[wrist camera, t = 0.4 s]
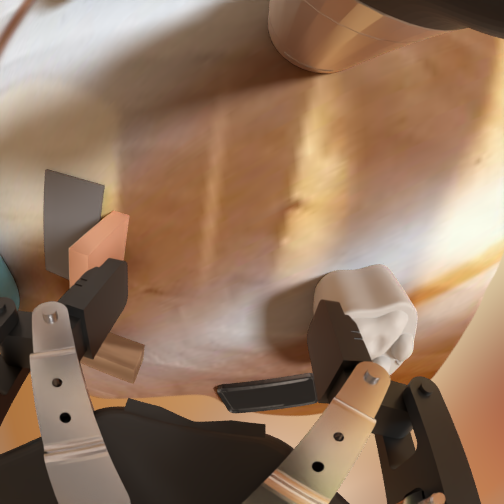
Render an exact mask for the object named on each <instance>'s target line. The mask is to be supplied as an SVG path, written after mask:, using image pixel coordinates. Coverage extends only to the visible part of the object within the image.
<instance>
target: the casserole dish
mask: <svg viewBox="0 0 504 504" xmlns="http://www.w3.org/2000/svg"><path fill="white" fill-rule="evenodd" d="M0 297H8V298H10V299H12V300H13V301H14V302H15V305H16V309H17V311H18V309H19V304H20V297H19V292H18V288H17V285H16V283H15V281H14V278H13V276H12V275H11V273H10V271H9V269H8V267H7V266H6V264H5V262H4V260H3V259H2V257H1V255H0Z"/></svg>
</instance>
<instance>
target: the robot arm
mask: <svg viewBox="0 0 504 504" xmlns="http://www.w3.org/2000/svg"><path fill="white" fill-rule="evenodd" d="M464 28H471V29H474V30H476V31H479V32H482V33H485V34H488V35H491V36H495V37H498V38H502V39H504V0H270V3H269V14H268V31H269V35H270V38H271V41H272V43H273V44H274V46H275V47H276V49H277V51H278V52H279V53H280V54H281V55H282V56H283V57H284V58H285V59H287V60H288V61H290V62H291V63H292V64H294V65H296V66H298V67H300V68H302V69H305V70H308V71H312V72H317V73H335V72H339V71H342V70H346V69H348V68H350V67H352V66H355V65H357V64H360V63H362V62H365V61H367V60H370V59H372V58H375V57H377V56H380V55H382V54H385V53H387V52H390V51H393V50H396V49H398V48H401V47H404V46H407V45H410V44H413V43H416V42H419V41H422V40H425V39H428V38H431V37H434V36H437V35H441V34H444V33H448V32H452V31H456V30H459V29H464ZM127 298H128V273H127V262H126V261H122V260H118V259H114V258H108V259H107V260H106V261H105V262H104V263H103V264H102V265H101V266H100V267H94V268H92V269H90V270H88V271H86V272H85V273H84V274H83V275H82V276H81V277H80V279H78V280H77V281H76V282H75V284H74V285H73V286H72V287H71V288H70V289H69V290H68V291H67V292H66V293H65V294H64V295H63V296H62V297H61V298H60V300H59V301H58V302H46V303H43V304H40V305H39V306H37V307H36V308H35V309H34V311H33V312H24V311H17V309H16V305H15V302H14V301H13V300H12V299H10V298H8V297H0V353H1V354H0V426H1V424H2V421H3V419H4V417H5V416H6V414H7V412H8V410H9V408H10V406H11V403H12V402H13V400H14V398H15V397H16V395H17V393H18V391H19V389H20V388H21V386H22V384H23V382H24V381H25V379H26V377H27V375H28V374H29V372H30V370H31V378H32V386H33V394H34V400H35V407H36V412H37V418H38V423H39V428H40V432H41V437H39V438H37V439H35V440H32V441H30V442H28V443H26V444H24V445H21V446H19V447H17V448H15V449H12V450H10V451H7V452H5V453H3V454H0V504H349V503H348V502H347V501H346V500H345V499H344V498H343V497H342V496H341V495H340V494H339V493H338V492H337V491H338V489H339V488H340V486H341V484H342V483H343V481H344V480H345V478H346V476H347V475H348V473H349V471H350V470H351V468H352V467H353V465H354V463H355V461H356V460H357V458H358V456H359V454H360V452H361V451H362V449H363V447H364V445H365V443H366V441H367V440H368V438H369V436H370V434H371V433H373V434H375V439H376V443H377V448H378V453H379V458H380V464H381V469H382V474H383V480H384V486H385V491H386V498H387V504H481V502H480V499H479V495H478V492H477V488H476V485H475V482H474V479H473V475H472V472H471V469H470V467H469V463H468V460H467V458H466V455H465V452H464V449H463V446H462V444H461V441H460V438H459V436H458V434H457V431H456V429H455V426H454V423H453V421H452V418H451V416H450V414H449V411H448V409H447V407H446V404H445V402H444V400H443V398H442V395H441V393H440V391H439V389H438V387H437V386H436V385H435V383H433V382H432V381H431V380H429V379H427V378H425V377H415V378H413V379H412V380H411V381H410V383H409V384H408V385H405V384H401V383H398V382H394V381H391V380H390V376H389V374H388V372H387V371H386V370H385V369H384V368H383V367H382V366H380V365H378V364H376V363H373V362H372V360H371V357H370V355H369V352H368V350H367V348H366V345H365V343H364V340H363V338H362V336H361V333H360V331H359V328H358V326H357V324H356V322H355V321H354V320H353V319H352V318H351V317H350V316H349V315H345V314H344V312H343V309H342V307H341V304H340V303H339V302H337V301H331V300H324V299H321V300H320V302H319V304H318V306H317V309H316V311H315V314H314V317H313V319H312V322H311V324H310V327H309V330H308V334H307V344H308V350H309V355H310V360H311V365H312V371H313V376H314V381H315V387H316V392H317V398H318V403H329V405H328V407H327V408H326V410H325V411H324V412H323V414H322V415H321V416H320V418H319V419H318V420H317V421H316V423H315V424H314V425H313V427H312V428H311V429H310V430H309V432H308V433H307V434H306V435H305V437H304V438H303V439H302V440H301V441H300V443H299V444H298V445H297V446H296V447H295V449H293V448H292V447H291V446H289V445H288V444H286V443H285V442H283V441H281V440H280V439H278V438H275V437H273V436H271V435H268V434H265V424H256V423H248V422H240V421H232V420H230V421H212V422H194V421H191V420H188V419H186V418H184V417H182V416H179V415H177V414H175V413H173V412H171V411H169V410H166V409H164V408H162V407H159V406H156V405H151V404H148V403H144V402H140V401H137V400H133V399H130V398H128V400H127V403H126V406H125V407H108V408H102V409H98V410H96V411H94V408H93V405H92V402H91V399H90V396H89V393H88V389H87V386H86V383H85V379H84V376H83V372H82V368H81V365H80V361H81V359H82V357H83V356H84V357H86V358H89V359H92V360H93V359H94V357H95V355H96V354H97V352H98V350H99V349H100V347H101V345H102V343H103V342H104V340H105V338H106V337H107V335H108V333H109V332H110V330H111V328H112V327H113V325H114V324H115V322H116V320H117V319H118V317H119V316H120V314H121V312H122V311H123V309H124V307H125V305H126V302H127ZM412 429H413V430H414V433H415V436H416V439H417V449H416V450H415V447H414V444H413V440H412V437H411V433H410V431H411V430H412Z"/></svg>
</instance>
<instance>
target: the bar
mask: <svg viewBox="0 0 504 504" xmlns="http://www.w3.org/2000/svg"><path fill="white" fill-rule="evenodd" d="M144 346H145V345H143V344H140V343H137V342H134V341H132V340H129V339H126V338H123V337H121V336H118V335H115V334H113V333H110V332H109V333H108V335H107V337H106V338H105V340H104V342H103V343H102V345H101V347H100V349H99V350H98V352H97V354H96V355H95V357H94V359H93V360H92V359H89V358H86V357H84V356H83V357H82V359H81V361H80V363H82V364H85V365H87V366H89V367H92V368H94V369H96V370H99V371H101V372H103V373H106V374H108V375H111V376H114V377H116V378H119V379H121V380H124V381H127V382H130V383H132V384H134V382H135V379H136V377H137V374H138V371H139V369H140V366H141V364H142V361H143V356H144Z"/></svg>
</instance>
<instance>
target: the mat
mask: <svg viewBox="0 0 504 504" xmlns="http://www.w3.org/2000/svg"><path fill="white" fill-rule="evenodd" d="M103 193H104V185H101V184H97V183H94V182H90V181H87V180H83V179H79V178H76V177H72V176H69V175H65V174H62V173H58V172H54V171H51V170H45V185H44V250H45V265H46V270H47V271H50V272H52V273H54V274H57V275H59V276H61V277H63V278H66V279H68V280H69V248H70V247H71V246H72V245H73V244H74V243H75V242H76V241H78V240H79V239H80V238H81V237H82V236H83V235H84V234H86V233H87V232H88V231H89V230H90V229H91V228H93V227H94V226H95V225H96V224H97V223H99V222H100V219H101V210H102V201H103Z"/></svg>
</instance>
